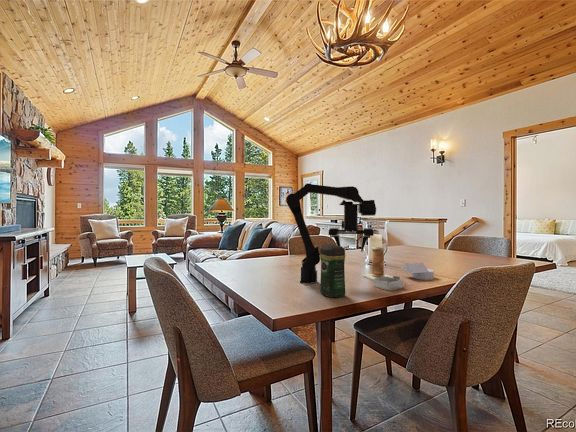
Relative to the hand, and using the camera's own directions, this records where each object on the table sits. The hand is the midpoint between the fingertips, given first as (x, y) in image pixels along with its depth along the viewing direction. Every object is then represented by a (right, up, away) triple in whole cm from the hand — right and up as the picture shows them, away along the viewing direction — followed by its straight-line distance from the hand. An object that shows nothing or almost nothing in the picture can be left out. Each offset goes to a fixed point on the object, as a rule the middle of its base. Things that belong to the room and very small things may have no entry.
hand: (350, 251), depth 130 cm
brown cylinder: (+14, -12, +7) cm, 20 cm away
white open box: (+13, -13, -9) cm, 21 cm away
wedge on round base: (+33, -13, +7) cm, 36 cm away
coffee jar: (-11, -14, -19) cm, 26 cm away
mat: (+14, -13, +7) cm, 20 cm away
